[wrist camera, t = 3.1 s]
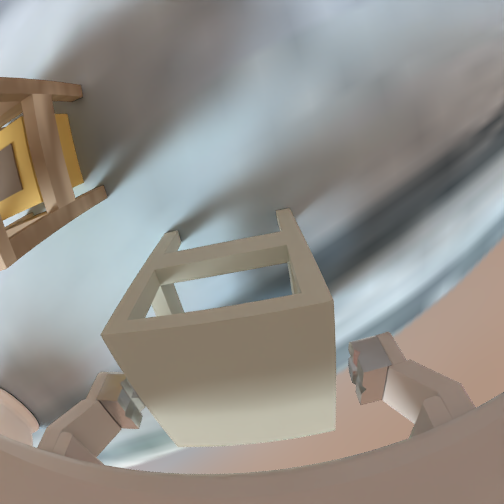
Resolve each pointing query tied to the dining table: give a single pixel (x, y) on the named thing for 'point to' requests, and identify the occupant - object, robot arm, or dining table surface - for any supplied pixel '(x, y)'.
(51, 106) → the tan square stool
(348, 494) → the robot arm
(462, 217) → the dining table surface
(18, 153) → the letter block
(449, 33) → the dining table surface
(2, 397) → the jar
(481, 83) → the dining table surface
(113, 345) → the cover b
